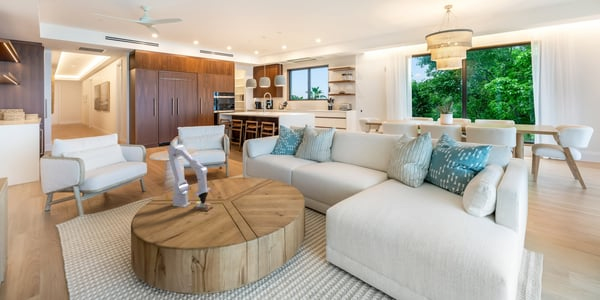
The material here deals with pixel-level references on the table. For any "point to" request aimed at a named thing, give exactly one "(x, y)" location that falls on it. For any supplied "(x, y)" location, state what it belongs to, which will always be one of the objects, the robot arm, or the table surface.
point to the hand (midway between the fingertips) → (203, 203)
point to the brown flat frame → (202, 208)
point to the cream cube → (198, 204)
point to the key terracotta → (207, 205)
